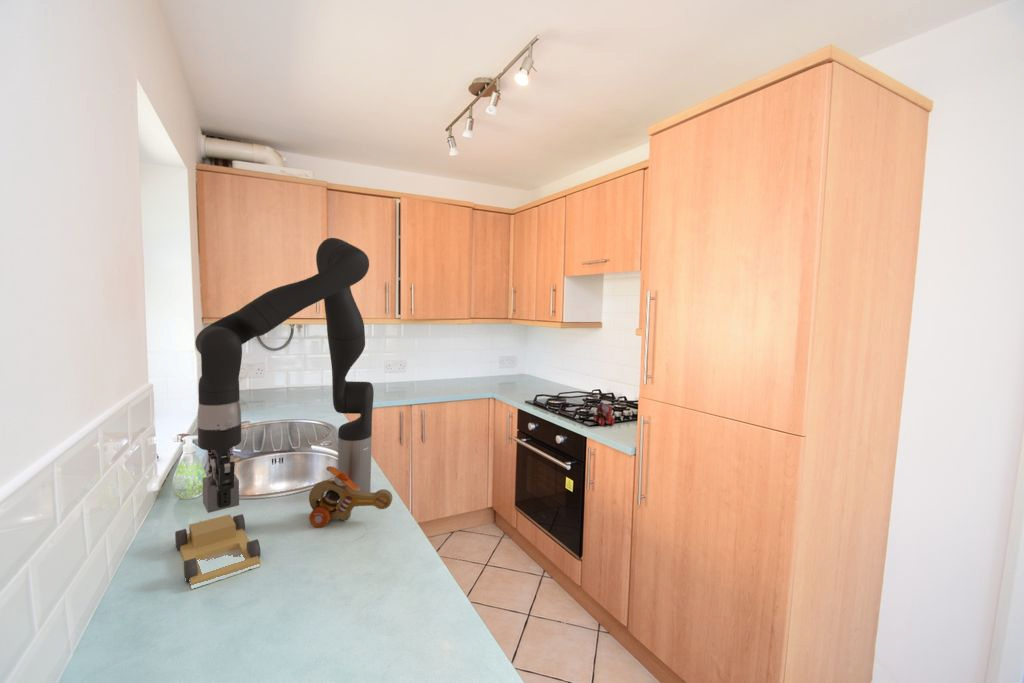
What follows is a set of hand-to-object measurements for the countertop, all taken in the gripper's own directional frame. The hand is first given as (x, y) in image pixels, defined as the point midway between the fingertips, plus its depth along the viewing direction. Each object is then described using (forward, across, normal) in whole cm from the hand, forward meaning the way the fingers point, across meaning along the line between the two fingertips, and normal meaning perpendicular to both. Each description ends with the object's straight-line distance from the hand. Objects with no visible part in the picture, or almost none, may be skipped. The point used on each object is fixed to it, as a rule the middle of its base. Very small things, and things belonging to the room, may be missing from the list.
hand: (221, 500), depth 93 cm
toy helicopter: (+15, -2, +28) cm, 32 cm away
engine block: (+1, 0, 0) cm, 1 cm away
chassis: (+14, -5, 0) cm, 15 cm away
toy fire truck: (+14, -17, +162) cm, 163 cm away
